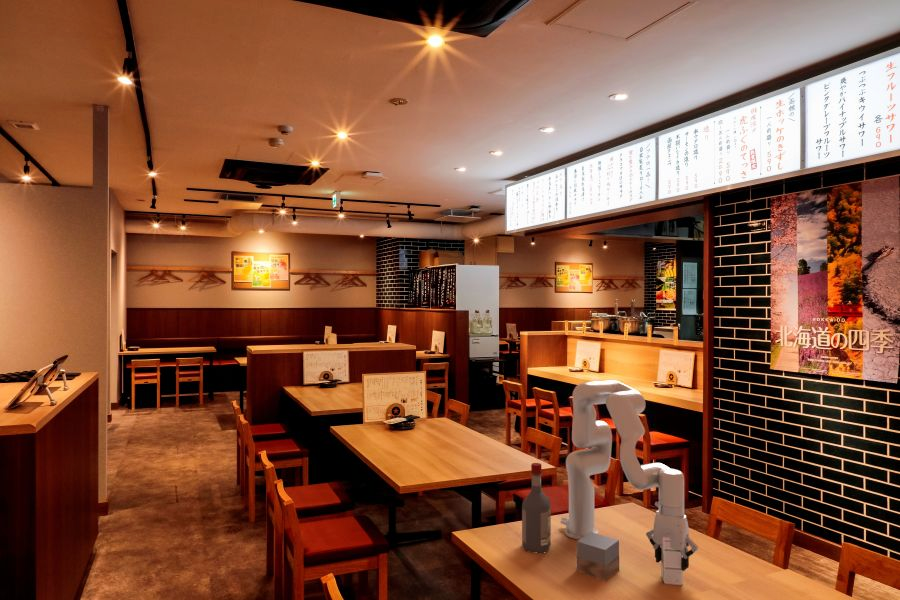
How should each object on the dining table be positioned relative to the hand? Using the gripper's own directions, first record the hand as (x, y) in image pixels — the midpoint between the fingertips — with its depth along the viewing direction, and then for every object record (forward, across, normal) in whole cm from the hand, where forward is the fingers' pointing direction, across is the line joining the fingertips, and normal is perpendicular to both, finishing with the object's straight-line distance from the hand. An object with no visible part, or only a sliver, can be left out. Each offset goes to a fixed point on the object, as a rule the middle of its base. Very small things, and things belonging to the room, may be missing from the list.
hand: (671, 564), depth 184 cm
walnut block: (+5, -20, -10) cm, 23 cm away
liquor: (+5, -45, -10) cm, 46 cm away
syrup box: (+5, 0, 0) cm, 5 cm away
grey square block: (0, -20, -10) cm, 23 cm away
